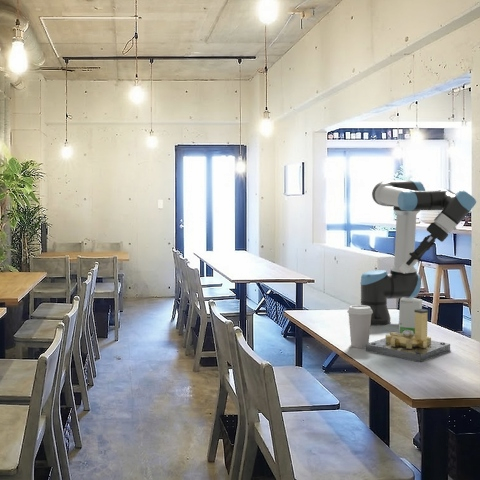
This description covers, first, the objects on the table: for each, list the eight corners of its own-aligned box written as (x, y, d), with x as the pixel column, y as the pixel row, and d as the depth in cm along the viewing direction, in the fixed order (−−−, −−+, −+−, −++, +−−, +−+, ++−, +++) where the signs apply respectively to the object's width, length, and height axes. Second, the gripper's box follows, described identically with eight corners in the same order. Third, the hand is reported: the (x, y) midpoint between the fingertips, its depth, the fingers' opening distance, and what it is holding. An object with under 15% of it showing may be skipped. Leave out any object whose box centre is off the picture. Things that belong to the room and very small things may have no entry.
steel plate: (397, 340, 230) (397, 322, 230) (450, 350, 215) (450, 330, 214) (365, 350, 215) (365, 331, 214) (420, 362, 199) (420, 341, 199)
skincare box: (398, 337, 236) (398, 299, 235) (400, 334, 242) (401, 296, 241) (419, 339, 232) (420, 300, 231) (421, 335, 238) (422, 298, 237)
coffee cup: (373, 343, 226) (374, 305, 225) (371, 349, 217) (371, 309, 216) (349, 341, 229) (349, 304, 228) (345, 347, 220) (345, 308, 219)
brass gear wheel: (376, 341, 217) (376, 306, 216) (406, 336, 226) (406, 302, 225) (409, 350, 204) (410, 313, 203) (440, 344, 212) (440, 308, 211)
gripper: (449, 232, 202) (408, 278, 206) (449, 235, 225) (412, 277, 229) (431, 218, 204) (391, 264, 208) (433, 223, 227) (397, 264, 231)
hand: (402, 271), depth 218 cm, fingers open, 13 cm apart
